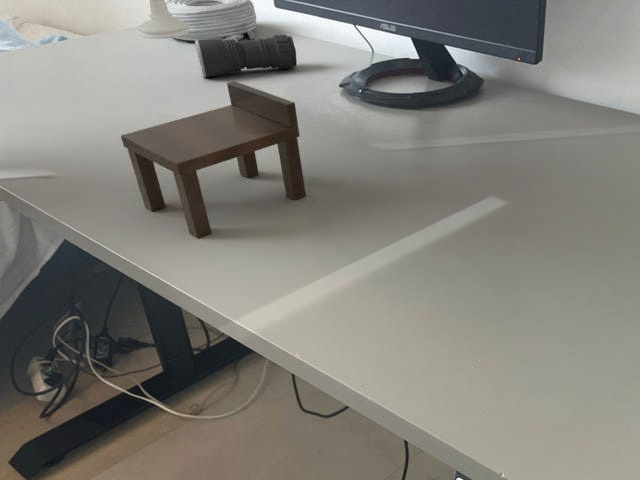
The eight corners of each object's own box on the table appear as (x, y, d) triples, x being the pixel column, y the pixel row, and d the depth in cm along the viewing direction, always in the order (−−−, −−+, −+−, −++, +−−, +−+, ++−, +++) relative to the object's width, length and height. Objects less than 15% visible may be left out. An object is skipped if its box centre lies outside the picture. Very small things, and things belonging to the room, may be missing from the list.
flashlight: (294, 63, 122) (289, 29, 119) (300, 71, 118) (296, 36, 115) (200, 71, 118) (193, 36, 114) (204, 81, 114) (196, 45, 110)
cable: (257, 42, 133) (251, 7, 129) (158, 47, 130) (148, 11, 126) (259, 21, 146) (254, -12, 142) (170, 25, 143) (162, -9, 139)
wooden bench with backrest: (197, 240, 72) (170, 138, 66) (142, 207, 78) (112, 111, 71) (308, 196, 80) (294, 102, 74) (251, 169, 86) (234, 80, 80)
